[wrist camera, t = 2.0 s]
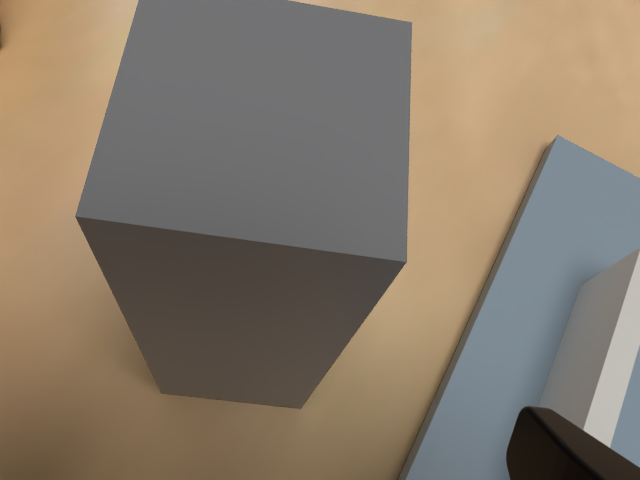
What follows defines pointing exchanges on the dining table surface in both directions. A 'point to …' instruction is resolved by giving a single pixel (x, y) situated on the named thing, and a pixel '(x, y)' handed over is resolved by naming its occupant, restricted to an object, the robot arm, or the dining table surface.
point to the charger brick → (251, 190)
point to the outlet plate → (547, 325)
